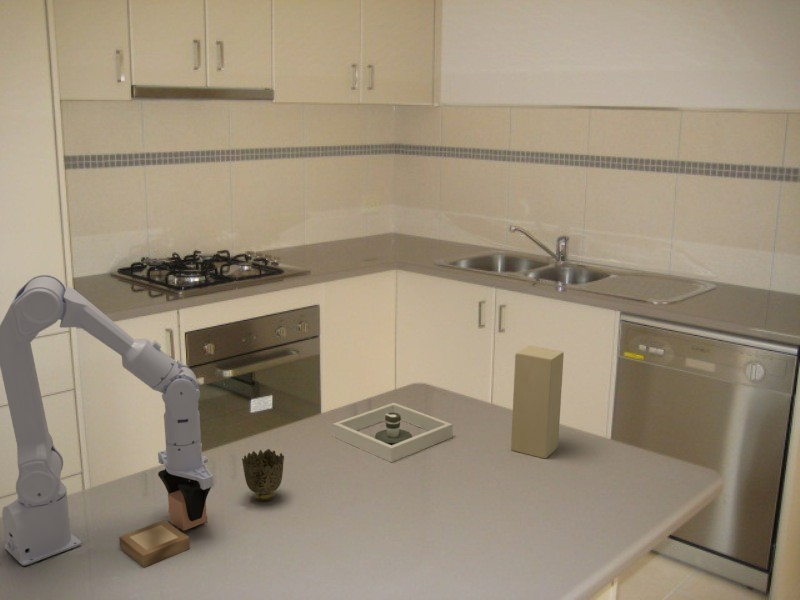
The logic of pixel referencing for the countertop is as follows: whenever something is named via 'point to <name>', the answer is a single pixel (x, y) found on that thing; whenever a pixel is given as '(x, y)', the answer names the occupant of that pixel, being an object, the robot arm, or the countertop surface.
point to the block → (182, 512)
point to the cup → (263, 473)
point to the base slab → (154, 543)
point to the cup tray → (434, 435)
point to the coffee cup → (392, 430)
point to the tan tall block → (536, 401)
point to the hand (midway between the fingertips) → (187, 513)
